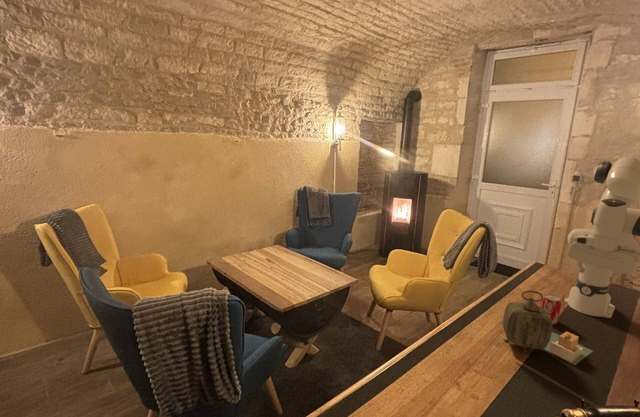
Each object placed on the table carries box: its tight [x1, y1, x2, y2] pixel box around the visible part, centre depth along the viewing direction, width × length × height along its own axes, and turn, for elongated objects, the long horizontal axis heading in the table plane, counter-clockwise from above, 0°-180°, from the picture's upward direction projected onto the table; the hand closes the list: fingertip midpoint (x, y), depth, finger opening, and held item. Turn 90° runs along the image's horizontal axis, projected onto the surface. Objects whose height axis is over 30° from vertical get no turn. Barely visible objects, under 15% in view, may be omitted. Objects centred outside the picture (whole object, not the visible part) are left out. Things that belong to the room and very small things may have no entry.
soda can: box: [540, 294, 562, 325], centre depth 147 cm, size 7×7×12 cm
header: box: [549, 341, 583, 363], centre depth 125 cm, size 9×7×4 cm
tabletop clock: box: [502, 290, 553, 354], centre depth 125 cm, size 14×9×25 cm, turn 71°
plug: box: [558, 331, 579, 352], centre depth 124 cm, size 6×4×8 cm, turn 122°
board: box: [543, 331, 594, 366], centre depth 131 cm, size 16×20×1 cm
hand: (596, 276), depth 126 cm, fingers open, 8 cm apart
